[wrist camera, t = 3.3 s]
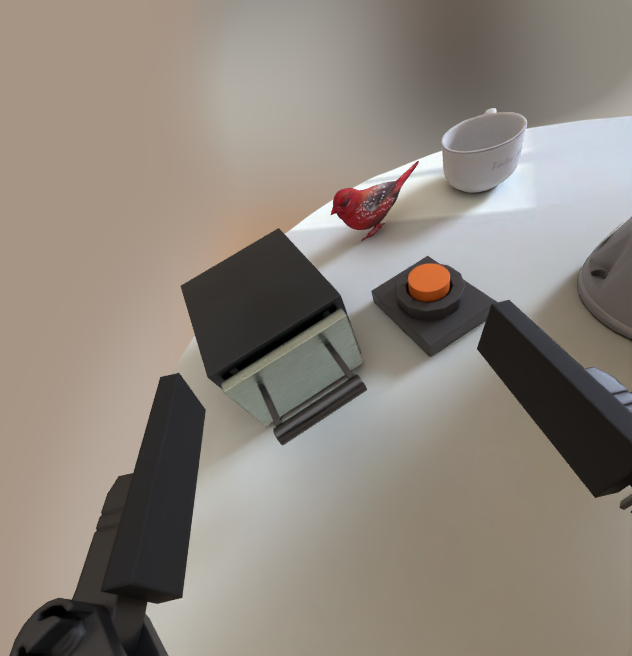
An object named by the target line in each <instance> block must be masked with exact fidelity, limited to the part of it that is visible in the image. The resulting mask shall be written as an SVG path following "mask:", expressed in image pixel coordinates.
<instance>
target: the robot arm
mask: <svg viewBox="0 0 632 656" xmlns="http://www.w3.org/2000/svg"><path fill="white" fill-rule="evenodd" d="M622 223H623V222H622ZM622 223H621V224H622ZM621 224H620V225H621ZM620 225H619V226H620ZM619 226H618V227H619ZM618 227H617V228H618ZM617 228H616V229H617ZM616 229H614V230H613V231H612V232H611V233H610V234H609V235H608V236H607V237H606V238H605V239H604V240H605V241H604V240H603V241H602V242H601V243H600V244H599V245H598V246H597V248H596V249H595V250H594V251H593V252H592V253H591V255H590V256H589V257H588V258H587V260H586V262H585V263H584V265H583V267H582V269H581V271H580V274H579V276H578V291H579V295H580V297H581V299H582V301H583V303H584V304H585V306H586V307H587V308H588V310H589V311H590V312H591V313H592V314H593V315H594V316H595V317H596V318H597V319H598V320H600V321H601V322H602V323H603V324H605V325H606V326H608V327H609V328H611V329H612V330H614V331H616V332H617V333H619V334H621V335H623V336H625V337H627V338H629V339H631V340H632V217H631V218H630V219H629V220H628V221H626V222H625V223H624V224H623V225H622V226H621V227H619V228H618V229H617V230H616ZM615 230H616V231H615ZM614 231H615V232H614ZM613 232H614V233H613ZM612 233H613V234H612ZM477 350H478V351H479V352H480V353H481V355H482V356H483V357H484V358H485V360H486V361H487V362H488V363H489V365H490V366H491V367H492V369H493V370H494V371H495V372H496V374H497V375H498V376H499V377H500V379H501V380H502V381H503V382H504V384H505V385H506V386H507V387H508V389H509V390H510V391H511V392H512V394H513V395H514V396H515V398H516V399H517V400H518V401H519V403H520V404H521V405H522V406H523V408H524V409H525V410H526V411H527V413H528V414H529V415H530V416H531V418H532V419H533V420H534V421H535V423H536V424H537V425H538V426H539V428H540V429H541V430H542V432H543V433H544V434H545V435H546V437H547V438H548V439H549V440H550V442H551V443H552V444H553V445H554V447H555V448H556V449H557V450H558V452H559V453H560V454H561V455H562V457H563V458H564V459H565V460H566V462H567V463H568V464H569V466H570V467H571V468H572V469H573V471H574V472H575V473H576V474H577V476H578V477H579V478H580V479H581V481H582V482H583V483H584V484H585V486H586V487H587V488H588V489H589V491H590V492H591V493H592V494H593V496H594V497H595V498H597V497H601V496H605V495H609V494H613V493H618V492H620V491H621V490H623V489H624V488H626V487H627V486H629V485H630V486H631V487H632V393H629V392H628V389H627V388H625V387H624V386H623V385H622V384H621V383H620V382H618V381H617V380H616V379H615V378H614V377H612V376H611V375H609V374H607V373H605V372H603V371H601V370H599V369H598V368H596V367H591V368H586V369H584V368H583V367H582V366H581V365H580V364H579V363H578V362H576V361H575V360H574V359H573V358H572V357H571V356H570V355H569V354H568V353H567V352H566V351H564V350H563V349H562V348H561V347H560V346H559V345H558V344H557V343H556V342H555V341H553V340H552V339H551V338H550V337H549V336H548V335H547V334H546V333H545V332H544V331H543V330H541V329H540V328H539V327H538V326H537V325H536V324H535V323H534V322H533V321H532V320H531V319H529V318H528V317H527V316H526V315H525V314H524V313H523V312H522V311H521V310H520V309H519V308H517V307H516V306H515V305H514V304H513V303H512V302H511V301H510V300H507V301H502V302H498V303H493V304H491V307H490V310H489V313H488V316H487V319H486V322H485V326H484V329H483V332H482V335H481V338H480V341H479V344H478V347H477ZM205 411H206V410H205V408H204V407H203V406H202V404H201V403H200V401H199V400H198V399H197V397H196V396H195V394H194V393H193V392H192V390H191V389H190V387H189V386H188V385H187V383H186V382H185V380H184V379H183V378H182V376H181V375H180V373H177V374H172V375H168V376H163V377H160V380H159V384H158V388H157V391H156V394H155V398H154V402H153V405H152V409H151V412H150V416H149V419H148V423H147V426H146V430H145V433H144V437H143V441H142V444H141V448H140V451H139V455H138V458H137V462H136V465H135V469H134V473H131V474H127V475H123V476H119V477H118V478H117V480H116V481H115V483H114V485H113V487H112V488H111V489H110V491H109V492H108V494H107V497H106V500H105V503H104V506H103V509H102V512H101V513H102V515H101V516H100V518H99V521H98V524H97V527H96V529H97V531H96V532H95V533H94V536H93V539H92V542H91V545H90V548H89V551H88V554H87V557H86V561H85V564H84V567H83V570H82V573H81V576H80V579H79V582H78V585H77V588H76V591H75V593H74V596H73V598H72V600H69V599H63V598H57V599H54V600H51V601H49V602H47V603H46V604H44V605H43V606H42V607H40V608H39V609H38V610H36V611H35V612H34V613H33V615H32V616H31V617H30V618H29V619H28V620H27V622H26V623H25V624H24V625H23V627H22V629H21V630H20V632H19V634H18V636H17V637H16V639H15V641H14V644H13V647H12V650H11V653H10V656H168V654H167V652H166V650H165V648H164V646H163V644H162V642H161V640H160V638H159V636H158V634H157V632H156V631H155V629H154V627H153V625H152V623H151V621H150V619H149V617H148V616H147V615H146V614H145V612H146V606H147V602H151V603H156V604H158V603H163V602H167V601H171V600H175V599H179V598H182V595H183V587H184V579H185V571H186V563H187V555H188V547H189V539H190V531H191V523H192V515H193V507H194V499H195V491H196V483H197V475H198V467H199V459H200V451H201V443H202V435H203V427H204V419H205ZM630 506H632V494H631V495H629V496H628V497H626V498H625V499H623V500H622V501H621V503H620V508H621V509H623V510H625V509H626V508H628V507H630ZM631 513H632V511H631Z"/></svg>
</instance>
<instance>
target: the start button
mask: <svg viewBox="0 0 632 656" xmlns="http://www.w3.org/2000/svg"><path fill="white" fill-rule="evenodd" d="M408 287H409V293H410V295H411V296H412V297H413V298H415V299H416V300H418V301H422V302H434V301H437V300H440V299H442V298H443V297H444V296H445V295H446V294H447V293H448V291H449V288H450V273H449V271H448V270H447V269H446V268H445V267H443V266H441V265H438V264H423V265H420V266H418V267H416V268H414V269H413V270H412V271H411V272H410V274H409V276H408Z"/></svg>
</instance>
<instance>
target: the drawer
mask: <svg viewBox="0 0 632 656" xmlns="http://www.w3.org/2000/svg"><path fill="white" fill-rule="evenodd" d="M361 364H363V360H362V357H361V354H360V351H359V349H358V346H357V343H356V340H355V337H354V334H353V332H352V329H351V326H350V323H349V320H348V317H347V315H346V314H345V313H344V311H343V310H342V309H341V308H340V309H338V310H337V311H335V312H334V313H332V314H330V311H329V310H327V311H326V312H324V313H322V314H321V315H319V316H318V317H316V318H314V319H313V320H311V321H310V322H308V323H306V324H305V325H303V326H302V327H300V328H298V329H297V330H295V331H294V332H292V333H290V334H289V335H287V336H286V337H284V338H282V339H281V340H279V341H278V342H276V343H274V344H273V345H271V346H270V347H268V348H266V349H265V350H263V351H262V352H260V353H258V354H257V355H255V356H254V357H252V358H250V359H249V360H247V361H246V362H244V363H242V364H241V365H239V366H238V367H236V368H234V369H233V370H231V371H230V373H231V374H232V375H233V376H231V377H230V378H228V379H227V380H225V381H223V382H222V383H221V386H222V389H223V392H224V393H225V394H226V395H227V396H229V397H230V398H231V399H232V400H234V401H235V402H236V403H237V404H239V405H240V406H241V407H242V408H244V409H245V410H246V411H247V412H249V413H250V414H251V415H252V416H254V417H255V418H256V419H257V420H259V421H260V422H261V423H262V424H264V425H265V426H267V425H269V424H270V423H272V422H274V424H275V426H276V427H275V428H274V429H273V431H274V434H275V436H276V438H277V440H278V441H279V443H280V444H281V445H285V444H286V443H288V442H289V441H291V440H292V439H294V438H295V437H297V436H298V435H300V434H301V433H303V432H304V431H306V430H307V429H309V428H310V427H312V426H313V425H315V424H316V423H318V422H320V421H321V420H323V419H324V418H326V417H327V416H329V415H330V414H332V413H333V412H335V411H336V410H338V409H339V408H341V407H342V406H344V405H345V404H347V403H348V402H350V401H351V400H353V399H354V398H356V397H357V396H359V395H361V394H362V393H364V392H365V391H367V388H366V386H365V384H364V383H363V381H362V380H361V378H360V377H359V376H358V375H355V376H354V374H353V373H352V370H353V369H355V368H356V367H358V366H359V365H361ZM344 375H346V377H347V378H348V379H349V380H347V381H346V382H344V383H343V384H341V385H340V386H338V387H336V388H335V389H333V390H332V391H330V392H329V393H327V394H326V395H324V396H323V397H321V398H320V399H318V400H316V401H315V402H313V403H312V404H310V405H309V406H307V407H306V408H304V409H303V410H301V411H300V412H298V413H297V414H295V415H293V416H292V417H290V418H289V419H287V420H286V421H284V422H282V420H281V418H280V417H281V416H282V415H284V414H285V413H287V412H289V411H290V410H292V409H293V408H295V407H296V406H298V405H299V404H301V403H302V402H304V401H306V400H307V399H309V398H310V397H312V396H313V395H315V394H316V393H318V392H319V391H321V390H322V389H324V388H326V387H327V386H329V385H330V384H332V383H333V382H335V381H336V380H338V379H339V378H341V377H343V376H344Z"/></svg>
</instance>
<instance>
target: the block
mask: <svg viewBox="0 0 632 656" xmlns="http://www.w3.org/2000/svg"><path fill="white" fill-rule="evenodd" d="M423 264H438V265H441V266H443V267H445V268H446V269H447V270H448V271H449V273H450V288H449V291H448V293H447V294H446V295H445V296H444V297H443V298H442V299H440V300H437V301H434V302H422V301H418V300H416V299H415V298H413V297H412V296H411V295H410V293H409V287H408V276H409V274H410V272H411V271H412V270H413V269H414V268H416V267H418V266H420V265H423ZM372 295H373V300H374V302H375V303H376V304H377V305H378V306H379V307H380V308H381V309H382V310H383V311H384V312H385V313H386V314H387V315H388V316H389V317H390V318H391V319H392V320H393V321H394V322H395V323H396V324H397V325H398V326H399V327H400V328H401V329H402V330H403V331H404V332H405V333H406V334H407V335H409V336H410V337H411V338H412V339H413V340H414V341H415V342H416V343H417V344H418V345H419V346H420V347H421V348H422V349H423V350H424V351H425V352H426V353H427V354H428V355H429V356H432V355H434V354H435V353H437V352H438V351H440V350H441V349H443V348H444V347H446V346H447V345H449V344H450V343H452V342H453V341H455V340H456V339H458V338H459V337H461V336H462V335H464V334H465V333H467V332H468V331H470V330H471V329H473V328H474V327H476V326H478V325H479V324H481V323H482V322H484V321H485V320H486V319H487V316H488V313H489V310H490V307H491V304H493V303H497V302H496V301H495V300H493V299H492V298H490V297H489V296H487V295H486V294H484V293H483V292H481V291H480V290H478V289H477V288H475V287H474V286H472V285H471V284H469V283H468V282H466V281H465V280H463V278H462V276H461V274H460V273H459V272H457V271H456V270H454V269H453V268H451V267H450V266H448V265H442V264H439V263H438V262H436V261H435V260H433V259H432V258H430V257H429V256H427V257H425V258H424V259H422V260H420V261H419V262H417V263H416V264H414V265H412V266H411V267H409V268H408V269H406V270H404V271H403V272H401V273H400V274H398V275H396V276H395V277H393V278H392V279H390V280H388V281H387V282H385V283H384V284H382V285H380V286H379V287H377V288H376V289H374V290H372Z"/></svg>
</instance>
